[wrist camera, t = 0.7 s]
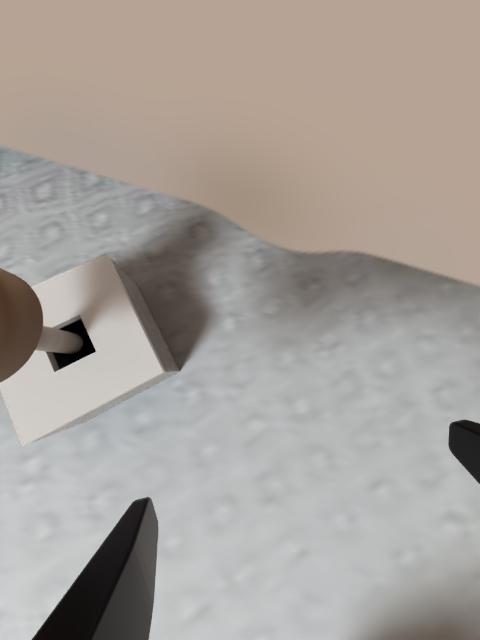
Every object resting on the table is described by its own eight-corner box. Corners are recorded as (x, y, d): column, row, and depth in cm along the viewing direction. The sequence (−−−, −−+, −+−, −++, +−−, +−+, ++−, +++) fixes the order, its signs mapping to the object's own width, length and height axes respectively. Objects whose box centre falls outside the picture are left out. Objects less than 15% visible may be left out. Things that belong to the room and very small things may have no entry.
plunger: (123, 359, 15) (-11, 345, 6) (49, 396, 15) (-214, 438, 6) (93, 294, 16) (-68, 200, 7) (20, 327, 15) (-259, 270, 6)
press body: (179, 371, 21) (163, 371, 15) (82, 423, 19) (22, 446, 14) (137, 285, 22) (106, 253, 16) (42, 329, 21) (-30, 313, 15)
